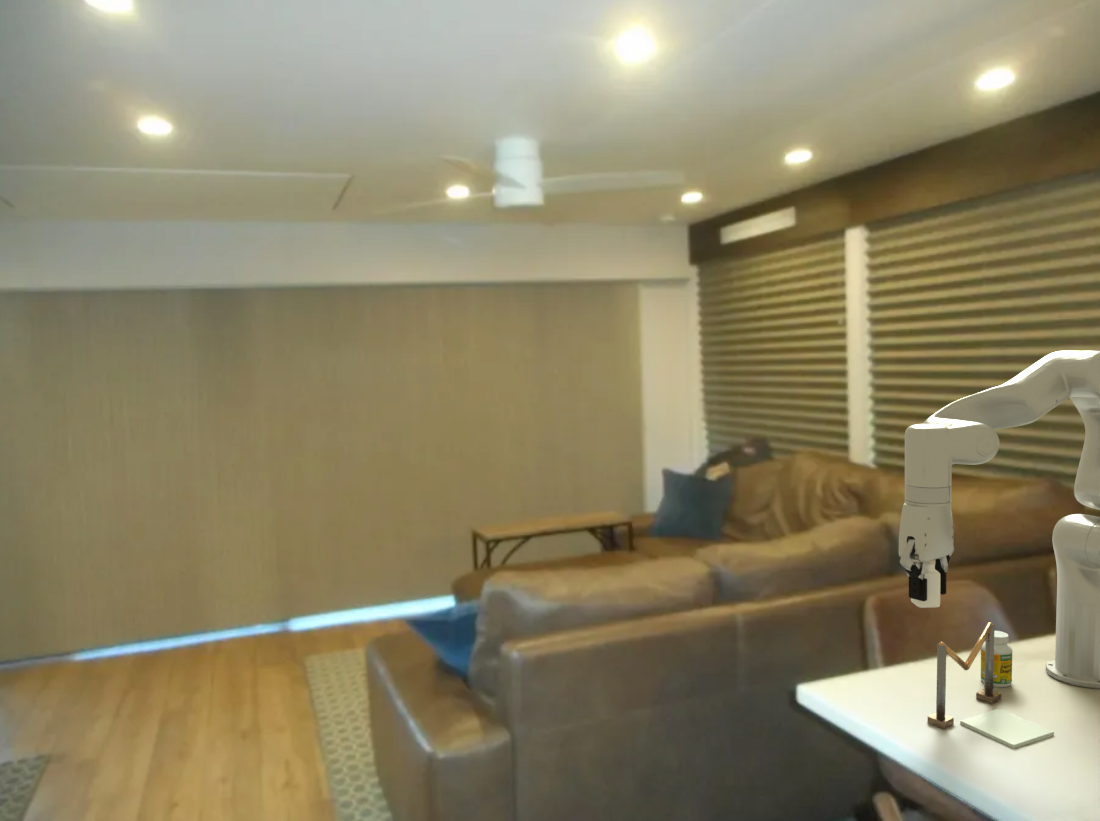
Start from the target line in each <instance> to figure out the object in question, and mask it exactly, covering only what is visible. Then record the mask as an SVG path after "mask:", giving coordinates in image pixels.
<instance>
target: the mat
mask: <svg viewBox="0 0 1100 821" xmlns="http://www.w3.org/2000/svg"><path fill="white" fill-rule="evenodd" d="M959 722H960V725H962V726H963V727H966V728H968V729H970V730H972V731H974V732H977V733H980V734H981V735H983V736H985V737H988V738H990V739H993V740H994V741H997V742H999V743H1001V744H1003V745H1005V746H1007V747H1009V748H1012V749H1017V748H1020V747H1022V746H1025V745H1028V744H1031V743H1035V742H1038V741H1040V740H1043V739H1047V738H1049V737H1053V736H1054V735H1055V731H1053V730H1052V729H1049V728H1047V727H1044V726H1042V725H1039V724H1037V723H1036V722H1035V723H1034V722H1032V721H1030V720H1027V719H1025V718H1023V717H1021V716H1018V715H1016V714H1013V713H1010V712H1008V711H1006V710H1003V709H1001V708H998V709H994V710H991V711H987V712H984V713H981V714H977V715H974V716H970V717H967V718H965V719H961V720H960V721H959Z"/></svg>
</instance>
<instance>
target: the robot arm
mask: <svg viewBox="0 0 1100 821" xmlns="http://www.w3.org/2000/svg"><path fill="white" fill-rule="evenodd" d="M1068 399H1070V401H1071V402H1072V404H1073V406H1074V407H1075V408H1076V410H1077V412H1078V413H1079V415H1080V416H1081V419H1082V421H1083V422H1082V423H1083V424H1084V425H1083V426H1084V429H1085V431H1084V433H1085V434H1084V435H1085V436H1084V442H1083V446H1082V447H1083V448H1082V450H1081V455H1080V460H1079V464H1078V467H1077V471H1076V472H1077V473H1076V475H1075V480H1074V487H1073V494H1074V498H1075V499H1076V501H1077V502H1078V503H1079V504H1080V505H1082V506H1085V507H1088V508H1091V509H1095V510H1099V511H1100V350H1058V351H1054V352H1051V353H1048V354H1046V355H1044V356H1043V357H1042V358H1040V359H1039V360H1037V361H1036V362H1034V363H1032V364H1031V365H1029V367H1027V368H1025V369H1024V370H1022V371H1021V372H1018V374H1016V375H1015V376H1014V377H1012V378H1010V379H1008V380H1007V381H1006V382H1003V384H1000V385H998V386H994V387H991V388H988V389H984V390H981V391H980V392H979V391H978V392H976V393H974V394H971V395H968V396H964V397H963V398H962V397H961V398H960V399H956V400H955V401H953V402H951V403H948V404H947V405H945V406H943V407H941V408H940V409H939V410H937V411H936V412H934V413H933V414H932V415H930V416H929V417H928V418H926V419H925V420H924V422H922V423H917V424H912V425H908V427H907V428H906V429H905V432H904V503H903V505H902V509H901V514H900V520H899V521H900V522H899V531H898V556H899V557H900V560H899V563H900V565H901V566H902V567H903V569H904V570H905V571H906V576H907V577H908V598H910V599H911V598H912V599H916V600H920V601H926V600H927V579H926V578H925V572H926V567H927V562H928V561H932V560H935V570H937V571H938V572H939V573H940V595H946V594H947V572H948V570H949V565H948V564H949V562H950V560H951V556H952V554H953V553H954V551H955V546H954V521H953V520H954V518H953V511H952V474H953V473H952V471H953V469H952V468H953V467H952V466H953V465H955V464H956V465H968V466H969V465H972V466H974V465H975V466H976V465H977V466H978V465H982V464H985V463H987V462H989V461H991V460H993V458H995V456H996V455H997V454H998V452H999V449H1000V438H999V436H998V434H997V432H996V431H995V430H1001V429H1008V428H1010V429H1011V428H1015V427H1020V426H1026V425H1029V424H1032V423H1034V422H1036V421H1038V420H1039V419H1040V418H1042V417H1044V416H1045V415H1046V414H1047V413H1049V412H1050V411H1052V410H1053V409H1055V408H1056V407H1058V406H1059V405H1060V404H1062V403H1064V402H1065V401H1067V400H1068ZM1051 537H1052V539H1051V540H1052V547H1053V551H1054V552H1053V553H1054V557H1055V562H1056V563H1055V564H1056V574H1057V576H1056V579H1057V581H1056V582H1057V583H1056V585H1057V586H1056V612H1055V613H1056V615H1055V616H1056V617H1055V619H1056V620H1055V621H1056V622H1055V650H1054V651H1055V655H1054V656H1055V658H1054V659H1052V660H1049V661H1047V662H1046V663H1045V671H1046V673H1047V674H1048V675H1050V676H1051V677H1052V678H1054V679H1056V680H1057V681H1060V682H1062V683H1063V682H1064V683H1066V684H1069V685H1074V686H1078V687H1083V688H1090V689H1100V516H1096V515H1091V514H1083V513H1074V514H1068V515H1066V516H1063V517H1062V518H1060V519H1059V520H1058V521H1057V522H1056V524H1055V525H1054V528H1053V530H1052V536H1051ZM916 556H919V558H918V559H919V560H918V559H916ZM916 563H919V564H920V568H919V569H918V567H917V566H916Z"/></svg>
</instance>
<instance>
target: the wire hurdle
mask: <svg viewBox="0 0 1100 821" xmlns="http://www.w3.org/2000/svg"><path fill="white" fill-rule="evenodd" d="M994 631H995V625H994V624H993V622H990V621H988V622H987V623H986V624H985V627H984V628H983V630H982V632H981V634H980V635H979V637H978V639H977V641H976V643H975V645H974V646H973V648H972V649H971V651H970V653H969V655H968V657H967V659H966V661H964V660H963V659H962V658H961V657H960V656H959V655H958V654H956V652H954V650H953V649H951V647H949V646H948V645H947V644H946V643H945V642H944V641H939V643H937V644H936V646H937V647H936V649H937V650H936V697H935V698H936V699H935V700H936V703H935V704H936V706H935V707H936V708H935V710H936V712H934V713H932V714H930V715H928V716H927V724H928V725H931V726H934V727H937V728H940V729H943V730H946V729H948V728H949V727H952V726H953V725H954V720H955V718H954V717H953V716H951V715H947V714H946V695H947V694H946V688H947V685H946V684H947V683H946V682H947V679H946V678H947V655H948V656H949V657H950V658H951V659H952V660H953V661H954V662H955V663H956V664H958V665H959V667H961V668H962V669H963V670H964V671H968V670H970V668H971V667H972V664H973V663H974V661H975V659H976V658H977V656H978V654H979V653H980V651H981V647H982V645H983V643H984V642H985V683H984V688H983V689H981V690H979V691H977V692H976V693H975V699H976V700H977V701H980V702H983V703H987V704H990V705H994V704H996V703H998V702H1000V701H1002V693H1001V692H996V691H994V686H993V670H994Z"/></svg>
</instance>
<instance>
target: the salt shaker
mask: <svg viewBox="0 0 1100 821" xmlns="http://www.w3.org/2000/svg"><path fill="white" fill-rule="evenodd" d="M918 558H919V556H915V559H918ZM918 560H919V559H918ZM915 565H916V566H917V567H918V569H919V568H920V564H919V563H915ZM925 578H926V579H927V600H926V601H920V600H916V599H912V598H910V601H911V603H912V604H913V605H915V606H916V607H917V608H919V609H920V608H921V609H925V608H926V609H927V608H939V607H940V606H941V594H940V573H939V572H938V571H937V570H935V560H932V561H928V562H927V567H926V572H925Z"/></svg>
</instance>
